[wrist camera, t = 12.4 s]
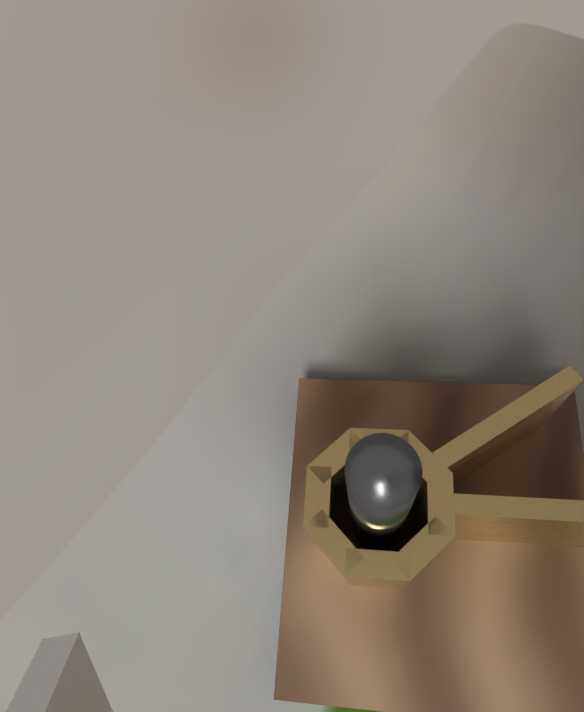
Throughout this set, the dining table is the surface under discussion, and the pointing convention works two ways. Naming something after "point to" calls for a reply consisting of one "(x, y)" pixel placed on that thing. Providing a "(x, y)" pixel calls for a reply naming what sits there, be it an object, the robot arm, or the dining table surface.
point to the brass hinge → (446, 495)
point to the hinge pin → (381, 488)
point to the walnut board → (436, 571)
